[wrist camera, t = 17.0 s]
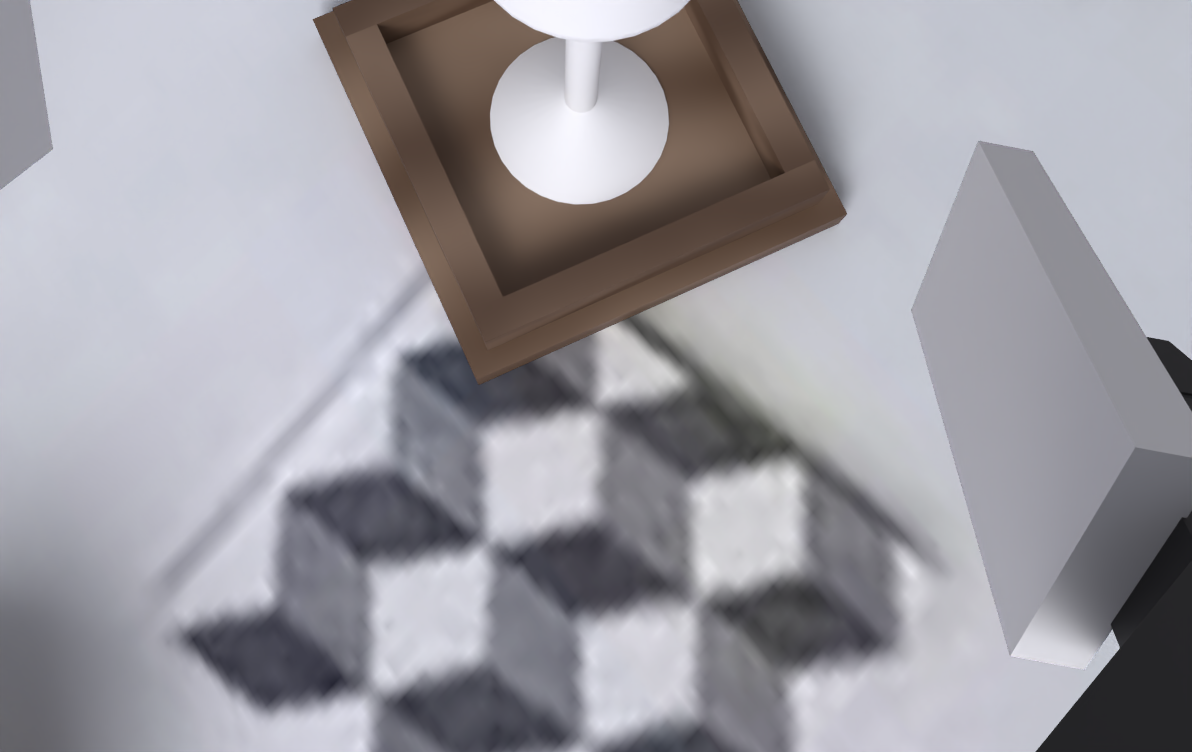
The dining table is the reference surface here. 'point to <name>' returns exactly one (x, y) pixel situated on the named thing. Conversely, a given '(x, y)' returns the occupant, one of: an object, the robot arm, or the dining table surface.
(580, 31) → the champagne flute
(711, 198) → the walnut stand
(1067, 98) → the dining table surface
